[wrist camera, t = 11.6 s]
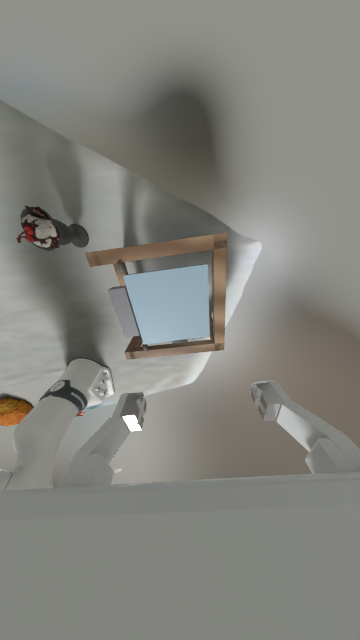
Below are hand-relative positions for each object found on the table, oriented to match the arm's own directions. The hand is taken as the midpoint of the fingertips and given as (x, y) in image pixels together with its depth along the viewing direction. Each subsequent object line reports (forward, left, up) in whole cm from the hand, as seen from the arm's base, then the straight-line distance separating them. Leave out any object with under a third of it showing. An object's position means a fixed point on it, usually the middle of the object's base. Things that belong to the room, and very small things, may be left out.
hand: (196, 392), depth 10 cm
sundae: (+16, +25, -33) cm, 44 cm away
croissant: (-48, +86, -33) cm, 104 cm away
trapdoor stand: (0, +4, -33) cm, 33 cm away
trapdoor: (0, +5, -19) cm, 20 cm away
